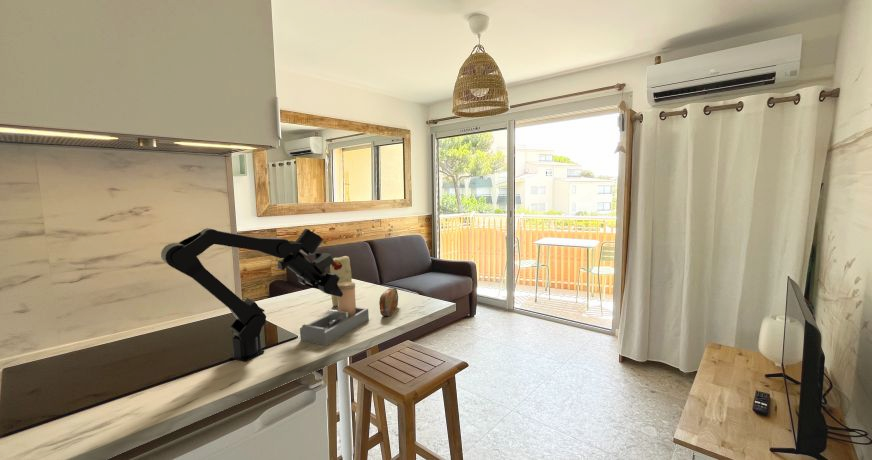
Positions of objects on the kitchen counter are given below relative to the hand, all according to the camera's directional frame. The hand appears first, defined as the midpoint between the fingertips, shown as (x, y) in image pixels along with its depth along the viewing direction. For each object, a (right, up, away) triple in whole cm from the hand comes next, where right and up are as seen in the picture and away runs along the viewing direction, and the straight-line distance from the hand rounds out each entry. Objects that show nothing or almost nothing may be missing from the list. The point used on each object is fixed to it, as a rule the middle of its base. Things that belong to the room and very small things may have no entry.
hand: (334, 292), depth 123 cm
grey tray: (+1, -12, -1) cm, 12 cm away
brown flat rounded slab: (+17, -10, +15) cm, 25 cm away
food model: (-4, -9, +25) cm, 27 cm away
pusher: (+1, -11, -2) cm, 11 cm away
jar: (+3, -10, +4) cm, 12 cm away
